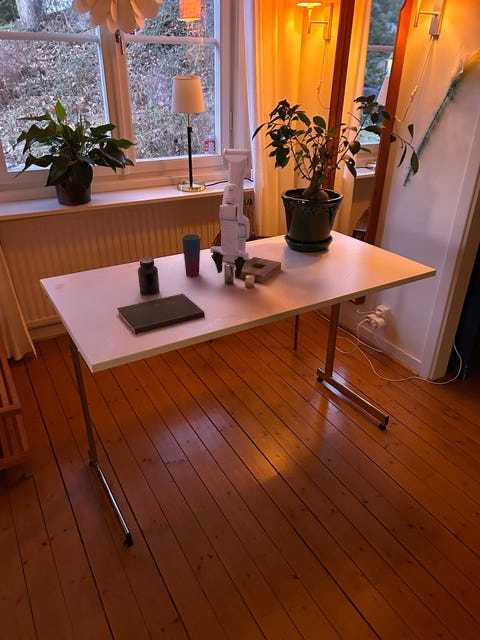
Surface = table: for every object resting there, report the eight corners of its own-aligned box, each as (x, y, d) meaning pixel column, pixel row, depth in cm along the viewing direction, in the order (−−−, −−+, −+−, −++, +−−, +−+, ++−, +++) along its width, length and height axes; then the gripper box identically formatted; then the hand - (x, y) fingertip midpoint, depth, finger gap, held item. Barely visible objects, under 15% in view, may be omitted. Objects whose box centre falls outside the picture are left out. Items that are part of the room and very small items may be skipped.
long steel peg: (222, 283, 171) (222, 265, 168) (227, 280, 174) (227, 262, 171) (230, 285, 170) (230, 267, 167) (235, 282, 173) (235, 264, 169)
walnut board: (234, 276, 177) (234, 269, 176) (253, 263, 190) (254, 256, 188) (263, 283, 172) (263, 276, 171) (280, 269, 185) (281, 262, 183)
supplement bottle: (152, 286, 168) (149, 254, 163) (163, 292, 164) (161, 259, 158) (135, 291, 164) (132, 259, 158) (147, 297, 160) (144, 264, 154)
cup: (180, 276, 177) (178, 237, 170) (188, 269, 183) (187, 232, 176) (196, 279, 175) (195, 240, 168) (204, 272, 180) (203, 235, 173)
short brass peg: (243, 287, 169) (243, 277, 167) (247, 284, 172) (247, 274, 170) (251, 289, 168) (251, 279, 166) (255, 286, 170) (256, 275, 168)
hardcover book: (117, 314, 150) (117, 308, 149) (183, 299, 161) (183, 293, 159) (135, 336, 138) (134, 329, 137) (204, 318, 149) (204, 311, 147)
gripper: (205, 237, 164) (206, 273, 170) (242, 244, 158) (241, 282, 164) (216, 232, 169) (216, 267, 176) (251, 239, 163) (250, 275, 170)
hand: (229, 274), depth 170 cm, fingers open, 7 cm apart
